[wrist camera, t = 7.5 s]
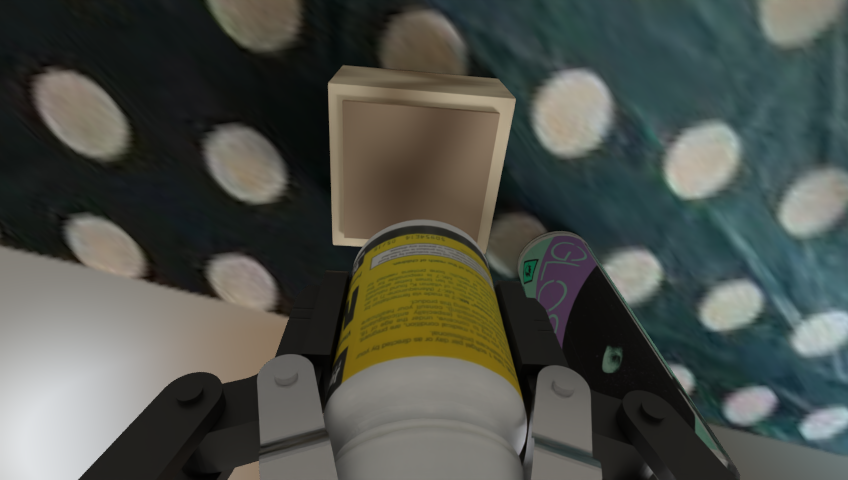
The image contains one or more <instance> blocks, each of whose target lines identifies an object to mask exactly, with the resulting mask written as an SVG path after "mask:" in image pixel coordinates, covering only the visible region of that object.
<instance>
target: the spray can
mask: <svg viewBox="0 0 848 480" xmlns="http://www.w3.org/2000/svg"><path fill="white" fill-rule="evenodd" d="M517 267H518V273H519V277H520V279H521V282H522V285H523V288H524V291H525V293H526V296H527V297H529V298H535V299H536V300H537V301H538V302H539V303H540V304H541V305H542V306H543V307H544V308H545V309H546V312H547V314H548V317H549V319H550V323H551V324H552V326H553V329H554V333H555V334H556V336H557V339H558V341H559V344H560V346H561V348H562V351H563V353H564V356H565V358H566V361H567V363H568V366H569V368H570V369H571V370H573V371H575V372H576V373H578V374H579V375H580V376H581V377H582V378H583V379H584V380H585V381H586V382H587V384H588V386H589V388H590V389H591V390H593V391H595V392H598V393H601V394H604V395H607V396H610V397H614V398H617V399H620V400H623V398H624V397H625V395H626V394H627V393H629V392H631V391H635V390H642V391H647V392H650V393H653V394H655V395H657V396H659V397H661V398H662V399H664V400H665V401H666V402H668V403H669V404H670V405H671V406H672V407H673V408H674V409H675V410H676V412H677V413H678V414H679V415H680V416H681V417H682V418H683V419H684V421H685V422H686V423H687V424H688V425H689V426H690V427H691V428H692V429H693V431H694V432H695V433H696V434H697V435H698V436H699V437H700V438H701V440H702V441H703V442H704V443H705V444H706V445H707V446H708V447H709V449H710V450H711V451H712V452H713V453H714V454H715V455H716V456H717V458H718V459H719V460H720V461H721V462H722V463H723V464H724V465H725V466H726V468H727V469H728V470H729V471H730V472H731V473H732V474H733V475H734V477H735V478H736V479H737V480H740V474H739V472H738V470H737V468H736V467H735V465H734V464H733V462H732V461H731V459H730V458H729V456H728V455H727V453H726V452H725V450H724V449H723V447H722V446H721V444H720V443H719V441H718V440H717V438H716V437H715V435H714V433H713V432H712V430H711V429H710V427H709V426H708V424H707V423H706V421H705V420H704V418H703V417H702V415H701V414H700V412H699V411H698V409H697V408H696V406H695V405H694V403H693V402H692V400H691V399H690V397H689V396H688V394H687V393H686V391H685V390H684V388H683V387H682V385H681V384H680V382H679V381H678V379H677V378H676V376H675V375H674V373H673V372H672V370H671V369H670V367H669V366H668V364H667V363H666V361H665V360H664V358H663V357H662V355H661V354H660V352H659V351H658V349H657V348H656V346H655V345H654V343H653V342H652V340H651V339H650V337H649V336H648V334H647V333H646V331H645V330H644V328H643V327H642V325H641V324H640V322H639V321H638V319H637V318H636V316H635V315H634V313H633V312H632V310H631V309H630V307H629V306H628V304H627V303H626V301H625V300H624V298H623V297H622V295H621V294H620V292H619V291H618V289H617V288H616V286H615V285H614V283H613V282H612V280H611V279H610V277H609V276H608V274H607V273H606V271H605V270H604V268H603V267H602V265H601V264H600V262H599V261H598V259H597V258H596V256H595V255H594V253H593V252H592V250H591V249H590V247H589V246H588V244H587V243H586V242H585V241H584V240H583V239H582V238H581V237H579V236H578V235H576V234H574V233H571V232H566V231H554V232H549V233H546V234H543V235H540V236H539V237H537V238H535V239H533V240H532V241H531V242H530V243H528V244H527V246H526V247H525V248H524V249H523V251H522V252H521V254H520V256H519V259H518V265H517ZM653 474H654V473H653ZM654 475H655V474H654ZM656 478H657V477H656ZM657 479H658V478H657Z"/></svg>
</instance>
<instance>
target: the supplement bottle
mask: <svg viewBox="0 0 848 480" xmlns="http://www.w3.org/2000/svg"><path fill="white" fill-rule="evenodd" d="M323 418H324V423H325V428H326V432H328V434H329V437H330V442H331V447H332V452H333V457H334V462H335V467H336V472H337V477H338V480H524V470H523V468H522V465H521V461H520V458H519V454H520V453H521V451H522V448H523V445H524V443H525V438H526V433H527V417H526V412H525V407H524V403H523V399H522V394H521V390H520V387H519V383H518V379H517V376H516V372H515V368H514V364H513V361H512V357H511V353H510V349H509V345H508V342H507V338H506V334H505V330H504V326H503V322H502V318H501V315H500V311H499V307H498V302H497V298H496V295H495V291H494V287H493V283H492V278H491V275H490V271H489V267H488V264H487V261H486V258H485V256H484V254H483V252H482V250H481V249H480V247H479V246H478V244H477V243H476V242H475V241H474V240H473V239H472V238H471V237H470V236H469V235H468V234H466V233H465V232H464V231H462V230H460V229H459V228H456V227H454V226H452V225H450V224H447V223H444V222H440V221H434V220H410V221H405V222H401V223H398V224H394V225H391V226H389V227H387V228H385V229H383V230H381V231H380V232H378V233H377V234H375V235H374V236H373V237H371V238H370V239H369V240H368V241H367V242H366V243H365V244H364V246H363V247H362V249H361V250H360V252H359V253H358V255H357V257H356V260H355V262H354V266H353V269H352V273H351V277H350V282H349V289H348V294H347V299H346V303H345V309H344V313H343V318H342V322H341V326H340V333H339V338H338V344H337V348H336V353H335V358H334V363H333V368H332V371H331V376H330V383H329V387H328V392H327V396H326V400H325V407H324V414H323Z"/></svg>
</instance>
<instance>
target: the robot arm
mask: <svg viewBox="0 0 848 480" xmlns="http://www.w3.org/2000/svg"><path fill="white" fill-rule="evenodd" d="M348 289H349V272H344V271H325V274H324V277H323V280H322V284H321V286H312V285H308V286H306V287H305V288H304V289H303V290H302V291H301V292H300V293H299V294H298V295H297V298H296V300H295V303H294V306H293V310H292V311H291V314H290V317H289V320H288V322H287V325H286V328H285V331H284V334H283V336H282V339H281V342H280V345H279V348H278V350H277V353H276V356H275V358H273V359H272V360H270V361H268V362H267V363H266V364H265V365H264V366H263V367H262V368H261V370H260V371H259V373H258V374H257V375H254V376H252V377H249V378H246V379H242V380H237V381H233V382H228V383H224V384H222V383H221V381H220V379H219V378H218V377H217V376H215V375H213V374H211V373H206V372H196V373H191V374H187V375H184V376H182V377H180V378H178V379H176V380H174V381H173V382H171V383H170V384H169V385H168V386H166V387H165V388H164V389H163V391H162V392H161V393H160V394H159V395H158V396H157V397H156V398H155V399H154V400H153V401H152V402H151V403H150V404H149V405H148V406H147V407H146V409H144V411H143V412H142V413H141V414H140V415H139V416H138V417H137V418H136V419H135V420H134V421H133V422H132V423H131V424H130V425H129V427H128V428H127V429H126V430H125V431H124V432H123V433H122V434H121V435H120V436H119V437H118V438H117V439H116V440H115V441H114V442H113V443H112V445H111V446H110V447H109V448H108V449H107V450H106V451H105V452H104V453H103V454H102V455H101V456H100V457H99V458H98V459H97V460H96V461H95V462H94V464H93V465H92V466H91V467H90V468H89V469H88V470H87V471H86V472H85V473H84V474H83V475H82V476H81V477H80V479H78V480H227V479H228V478H229V476H230V475H231V473H232V472H233V470H234V468H235V467H238V466H242V465H245V464H249V463H252V462H256V461H259V473H260V480H338V477H337V472H336V467H335V462H334V457H333V452H332V447H331V442H330V437H329V434H328V432H326V428H325V423H324V418H323V413H324V407H325V400H326V396H327V392H328V387H329V383H330V376H331V371H332V368H333V363H334V358H335V353H336V348H337V344H338V338H339V333H340V326H341V322H342V318H343V313H344V309H345V303H346V299H347V294H348ZM494 291H495V295H496V298H497V302H498V307H499V311H500V315H501V318H502V322H503V326H504V330H505V334H506V338H507V342H508V345H509V349H510V353H511V357H512V361H513V364H514V368H515V372H516V376H517V379H518V383H519V387H520V390H521V394H522V399H523V403H524V407H525V412H526V417H527V433H526V438H525V443H524V445H523V448H522V451H521V453H520V454H519V458H520V461H521V465H522V468H523V470H524V480H737V479H736V478H735V477H734V475H733V474H732V473H731V472H730V471H729V470H728V469H727V468H726V466H725V465H724V464H723V463H722V462H721V461H720V460H719V459H718V458H717V456H716V455H715V454H714V453H713V452H712V451H711V450H710V449H709V447H708V446H707V445H706V444H705V443H704V442H703V441H702V440H701V438H700V437H699V436H698V435H697V434H696V433H695V432H694V431H693V429H692V428H691V427H690V426H689V425H688V424H687V423H686V422H685V421H684V419H683V418H682V417H681V416H680V415H679V414H678V413H677V412H676V410H675V409H674V408H673V407H672V406H671V405H670V404H669V403H668V402H666V401H665V400H664V399H662V398H661V397H659V396H657V395H655V394H653V393H650V392H647V391H642V390H635V391H631V392H629V393H627V394H626V395H625V397H624V398H623V400H620V399H617V398H614V397H610V396H607V395H604V394H601V393H598V392H595V391H593V390H591V389H590V388H589V386H588V384H587V382H586V381H585V380H584V379H583V378H582V377H581V376H580V375H579V374H578V373H576V372H575V371H573V370H571V369H570V368H569V366H568V363H567V361H566V358H565V356H564V353H563V351H562V348H561V346H560V344H559V341H558V339H557V336H556V334H555V333H554V329H553V326H552V324H551V323H550V319H549V317H548V314H547V312H546V309H545V308H544V307H543V306H542V305H541V304H540V303H539V302H538V301H537V300H536V299H535V298H529V297H525V294H524V291H523V289H522V286H521V283H520V282H516V281H499V280H497V281H496V282H495V285H494ZM653 473H654V474H655V475H654V474H653ZM656 477H657V478H658V479H657V478H656Z"/></svg>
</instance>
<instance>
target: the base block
mask: <svg viewBox="0 0 848 480" xmlns="http://www.w3.org/2000/svg"><path fill="white" fill-rule="evenodd" d="M328 100H329V132H330V164H331V197H332V229H333V245H346V246H364V244H365V243H366V242H367V241H368V240H369V239H370V238H371V237H373V236H374V235H375V234H377V233H378V232H380V231H381V230H383V229H385V228H387V227H389V226H391V225H394V224H398V223H401V222H405V221H410V220H434V221H440V222H444V223H447V224H450V225H452V226H454V227H456V228H459V229H460V230H462V231H464V232H465V233H466V234H468V235H469V236H470V237H471V238H472V239H473V240H474V241H475V242H476V243H477V244H478V246H479V247H480V249H481V250H482V252H483V254H486V250H487V245H488V240H489V235H490V229H491V224H492V219H493V214H494V209H495V204H496V199H497V194H498V188H499V183H500V178H501V173H502V168H503V163H504V158H505V152H506V147H507V142H508V137H509V132H510V127H511V122H512V116H513V111H514V106H515V101H516V99H515V97H514V96H513V95H512V94H511V93H510V92H509V91H508V89H507V88H506V87H505V86H504V85H503V84H502V83H501V81H500V80H499V79H495V78H484V77H472V76H461V75H449V74H438V73H427V72H415V71H404V70H392V69H381V68H370V67H358V66H347V65H343V66H342V67H341V68H340V69H339V71H338V72H337V73H336V74H335V75H334V77H333V78H332V79H331V80H330V81H329V82H328Z"/></svg>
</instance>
